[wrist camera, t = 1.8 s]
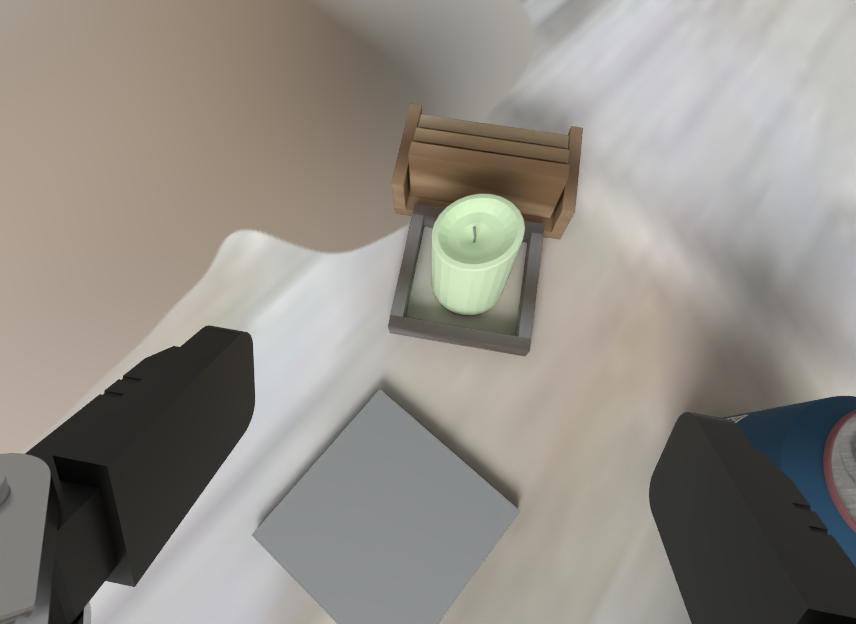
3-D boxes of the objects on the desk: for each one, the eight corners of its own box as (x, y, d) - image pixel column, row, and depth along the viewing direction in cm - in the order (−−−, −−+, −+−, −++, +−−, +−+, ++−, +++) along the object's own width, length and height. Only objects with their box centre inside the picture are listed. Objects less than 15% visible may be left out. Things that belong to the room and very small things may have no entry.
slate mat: (381, 390, 31) (379, 388, 30) (518, 510, 29) (520, 510, 28) (256, 533, 29) (251, 534, 28) (395, 676, 26) (394, 682, 26)
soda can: (807, 491, 29) (1048, 501, 18) (728, 568, 28) (934, 632, 16) (720, 398, 31) (888, 354, 20) (642, 467, 30) (774, 462, 18)
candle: (420, 301, 33) (417, 248, 25) (446, 240, 35) (450, 172, 27) (489, 326, 33) (508, 279, 25) (513, 263, 34) (537, 200, 26)
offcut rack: (412, 139, 37) (409, 83, 32) (568, 162, 37) (591, 108, 31) (368, 329, 33) (356, 300, 27) (547, 360, 32) (570, 337, 26)
